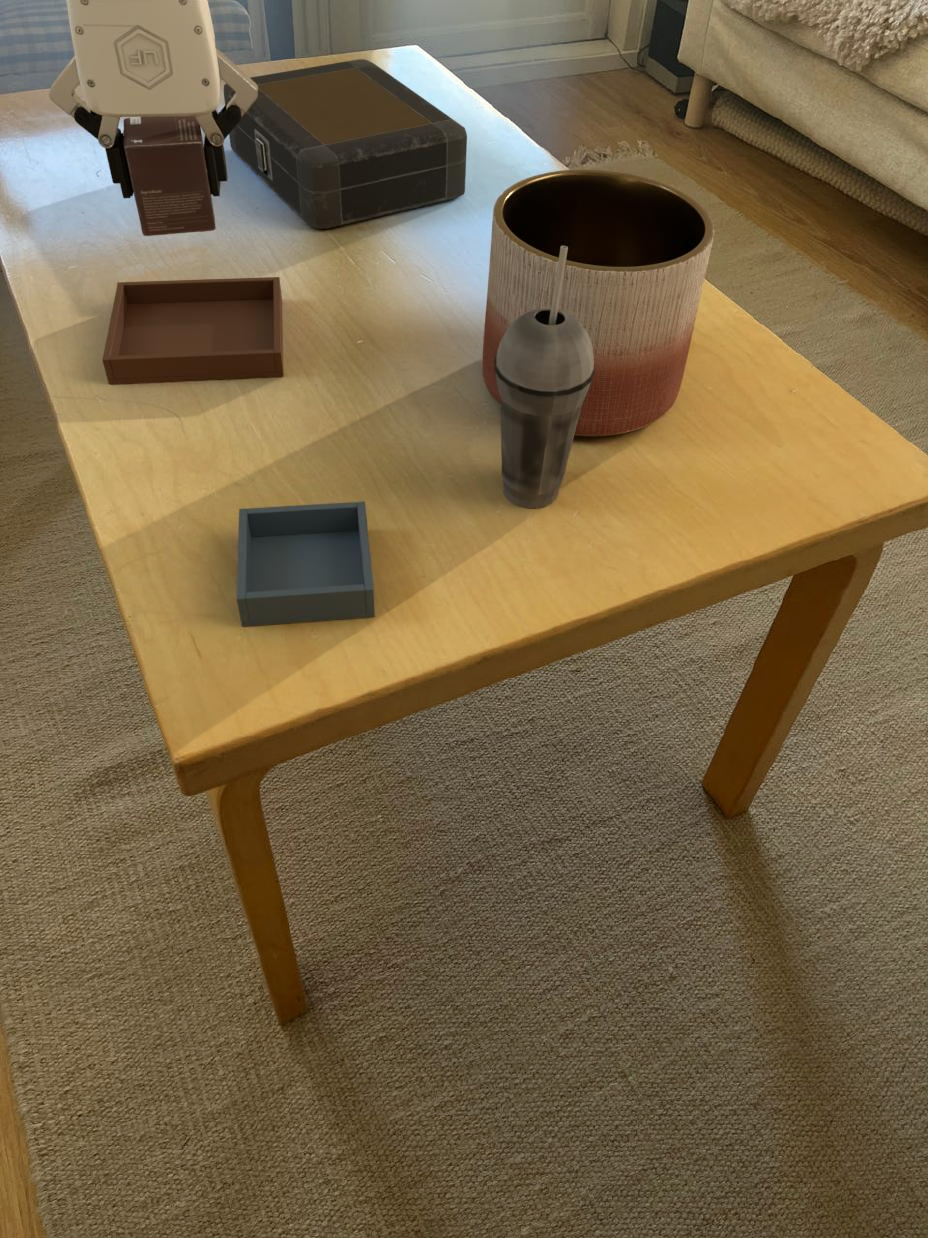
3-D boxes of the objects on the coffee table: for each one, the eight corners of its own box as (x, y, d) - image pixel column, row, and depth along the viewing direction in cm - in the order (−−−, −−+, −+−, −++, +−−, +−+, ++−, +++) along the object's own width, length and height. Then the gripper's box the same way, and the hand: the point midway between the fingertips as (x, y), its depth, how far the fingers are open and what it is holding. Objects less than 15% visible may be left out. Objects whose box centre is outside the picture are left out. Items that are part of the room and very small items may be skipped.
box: (216, 233, 82) (202, 142, 77) (142, 238, 81) (122, 146, 76) (212, 200, 86) (198, 111, 81) (141, 205, 85) (122, 115, 80)
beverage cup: (469, 500, 78) (482, 263, 64) (509, 450, 83) (530, 218, 68) (553, 531, 76) (586, 293, 61) (589, 479, 81) (629, 245, 66)
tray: (108, 384, 87) (102, 359, 85) (123, 305, 96) (117, 281, 94) (283, 376, 89) (280, 352, 87) (282, 300, 98) (279, 276, 96)
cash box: (221, 148, 121) (212, 80, 115) (370, 119, 128) (367, 54, 122) (309, 236, 107) (303, 164, 101) (470, 198, 114) (473, 128, 108)
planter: (697, 358, 93) (737, 192, 82) (649, 467, 82) (688, 293, 70) (520, 315, 97) (534, 151, 86) (450, 413, 86) (456, 239, 74)
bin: (241, 626, 69) (236, 599, 66) (243, 536, 75) (238, 508, 73) (375, 617, 70) (373, 589, 68) (366, 528, 76) (364, 501, 74)
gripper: (-14, -53, 65) (58, 213, 78) (252, -51, 67) (279, 208, 80) (6, -83, 70) (70, 172, 83) (253, -81, 72) (278, 168, 85)
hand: (172, 188), depth 82 cm, fingers closed on box, 6 cm apart
